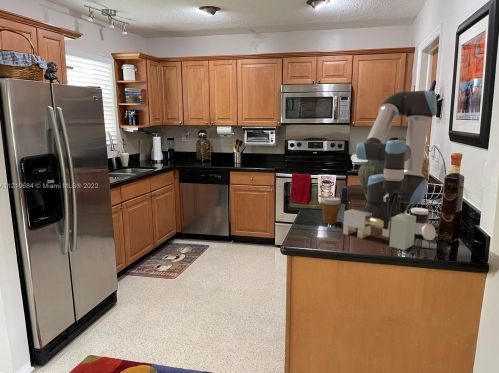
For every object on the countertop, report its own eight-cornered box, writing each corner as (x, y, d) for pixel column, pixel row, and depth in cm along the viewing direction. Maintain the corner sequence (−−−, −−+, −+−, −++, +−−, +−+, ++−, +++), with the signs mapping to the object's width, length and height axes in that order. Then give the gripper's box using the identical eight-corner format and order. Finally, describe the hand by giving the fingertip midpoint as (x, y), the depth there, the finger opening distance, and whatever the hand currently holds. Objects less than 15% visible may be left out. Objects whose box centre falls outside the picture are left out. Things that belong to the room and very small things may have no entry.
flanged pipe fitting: (411, 230, 166) (413, 206, 164) (438, 235, 159) (441, 210, 157) (403, 237, 157) (405, 211, 155) (431, 242, 150) (434, 215, 148)
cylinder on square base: (359, 224, 161) (360, 211, 160) (404, 234, 147) (405, 220, 146) (354, 226, 158) (355, 213, 157) (399, 236, 144) (400, 223, 143)
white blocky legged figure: (350, 230, 166) (351, 209, 164) (370, 235, 159) (372, 213, 157) (342, 233, 161) (343, 211, 159) (363, 238, 154) (364, 216, 152)
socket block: (398, 241, 151) (401, 213, 149) (413, 244, 147) (416, 216, 145) (389, 246, 145) (391, 217, 143) (404, 250, 141) (406, 220, 139)
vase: (390, 199, 230) (394, 152, 224) (399, 208, 208) (403, 156, 203) (354, 198, 233) (357, 152, 227) (359, 206, 211) (362, 155, 206)
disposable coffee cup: (340, 220, 182) (341, 197, 180) (339, 225, 173) (340, 201, 171) (320, 218, 185) (321, 195, 183) (319, 223, 176) (320, 199, 174)
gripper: (393, 175, 154) (389, 228, 158) (373, 180, 142) (369, 237, 146) (411, 177, 149) (406, 232, 153) (392, 183, 136) (387, 242, 141)
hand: (388, 234), depth 150 cm, fingers closed on cylinder on square base, 5 cm apart
